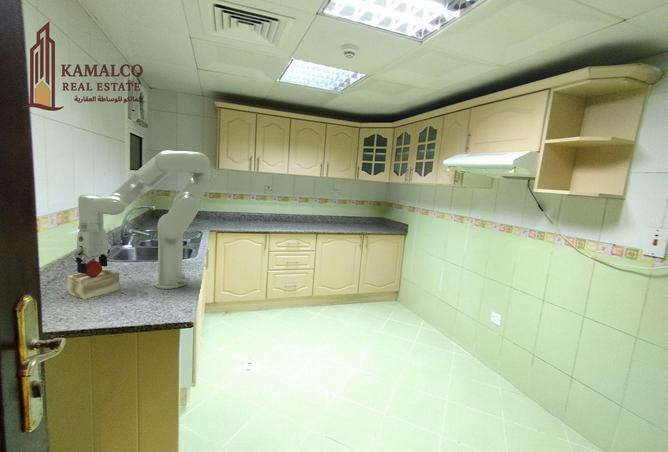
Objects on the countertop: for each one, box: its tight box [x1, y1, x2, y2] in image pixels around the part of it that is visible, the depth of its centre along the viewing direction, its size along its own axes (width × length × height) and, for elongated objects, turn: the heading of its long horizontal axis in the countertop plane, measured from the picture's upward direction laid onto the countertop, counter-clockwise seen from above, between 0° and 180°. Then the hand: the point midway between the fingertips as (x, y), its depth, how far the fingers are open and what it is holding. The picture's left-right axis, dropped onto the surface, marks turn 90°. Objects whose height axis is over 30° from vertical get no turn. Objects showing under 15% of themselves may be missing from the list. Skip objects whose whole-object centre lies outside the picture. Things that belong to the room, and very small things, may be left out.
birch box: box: [65, 267, 120, 300], centre depth 125 cm, size 11×13×8 cm
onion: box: [85, 257, 103, 278], centre depth 124 cm, size 6×6×8 cm
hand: (93, 269), depth 124 cm, fingers open, 9 cm apart
